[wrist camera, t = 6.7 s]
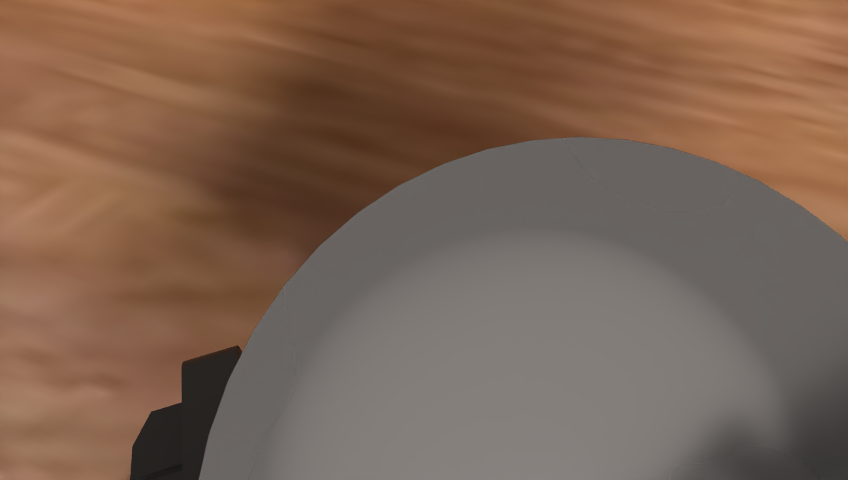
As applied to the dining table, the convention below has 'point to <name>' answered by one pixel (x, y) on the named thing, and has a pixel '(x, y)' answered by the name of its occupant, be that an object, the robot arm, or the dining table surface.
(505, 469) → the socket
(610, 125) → the dining table surface
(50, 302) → the dining table surface
